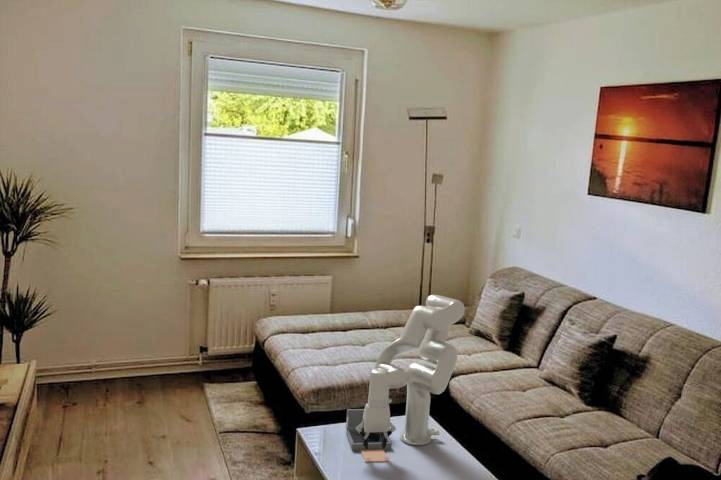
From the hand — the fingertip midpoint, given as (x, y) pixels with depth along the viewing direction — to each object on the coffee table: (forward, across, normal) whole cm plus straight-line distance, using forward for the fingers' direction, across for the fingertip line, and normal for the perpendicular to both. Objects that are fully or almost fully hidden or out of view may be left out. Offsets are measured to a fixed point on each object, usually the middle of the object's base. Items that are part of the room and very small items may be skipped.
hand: (374, 447), depth 232 cm
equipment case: (+4, 0, -12) cm, 13 cm away
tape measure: (+3, 0, -12) cm, 12 cm away
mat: (+4, 0, 0) cm, 4 cm away
